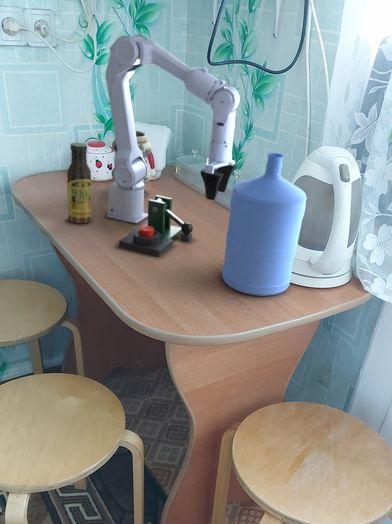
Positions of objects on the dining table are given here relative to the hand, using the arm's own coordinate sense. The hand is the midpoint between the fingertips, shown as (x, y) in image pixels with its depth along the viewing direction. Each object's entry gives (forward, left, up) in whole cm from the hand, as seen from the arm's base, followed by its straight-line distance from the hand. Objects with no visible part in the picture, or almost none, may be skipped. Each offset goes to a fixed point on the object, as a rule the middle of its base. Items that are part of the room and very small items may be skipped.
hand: (215, 195), depth 135 cm
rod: (-9, -9, -6) cm, 14 cm away
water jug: (+19, -22, -11) cm, 31 cm away
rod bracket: (-12, -9, -10) cm, 18 cm away
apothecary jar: (-34, +17, -11) cm, 39 cm away
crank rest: (-4, -9, -10) cm, 14 cm away
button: (-11, -18, -7) cm, 22 cm away
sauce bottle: (-34, -12, -11) cm, 38 cm away
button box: (-11, -18, -10) cm, 24 cm away
